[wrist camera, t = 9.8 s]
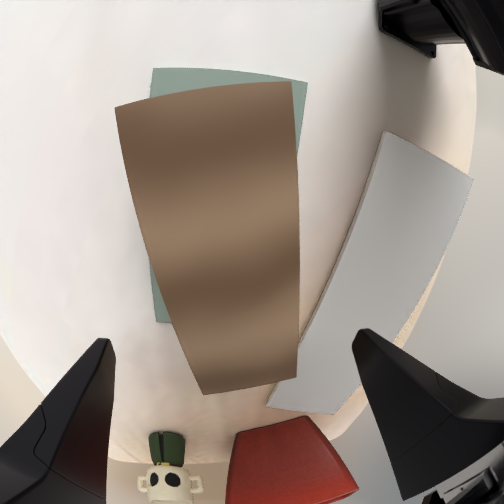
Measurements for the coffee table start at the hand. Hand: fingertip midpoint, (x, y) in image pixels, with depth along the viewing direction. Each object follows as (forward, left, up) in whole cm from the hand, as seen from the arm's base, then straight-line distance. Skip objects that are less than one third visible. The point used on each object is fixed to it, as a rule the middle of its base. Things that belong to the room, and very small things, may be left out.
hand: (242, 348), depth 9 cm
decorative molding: (-15, +10, -14) cm, 22 cm away
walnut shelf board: (0, 0, -8) cm, 8 cm away
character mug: (+7, +39, -13) cm, 42 cm away
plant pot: (-12, +42, -13) cm, 46 cm away
